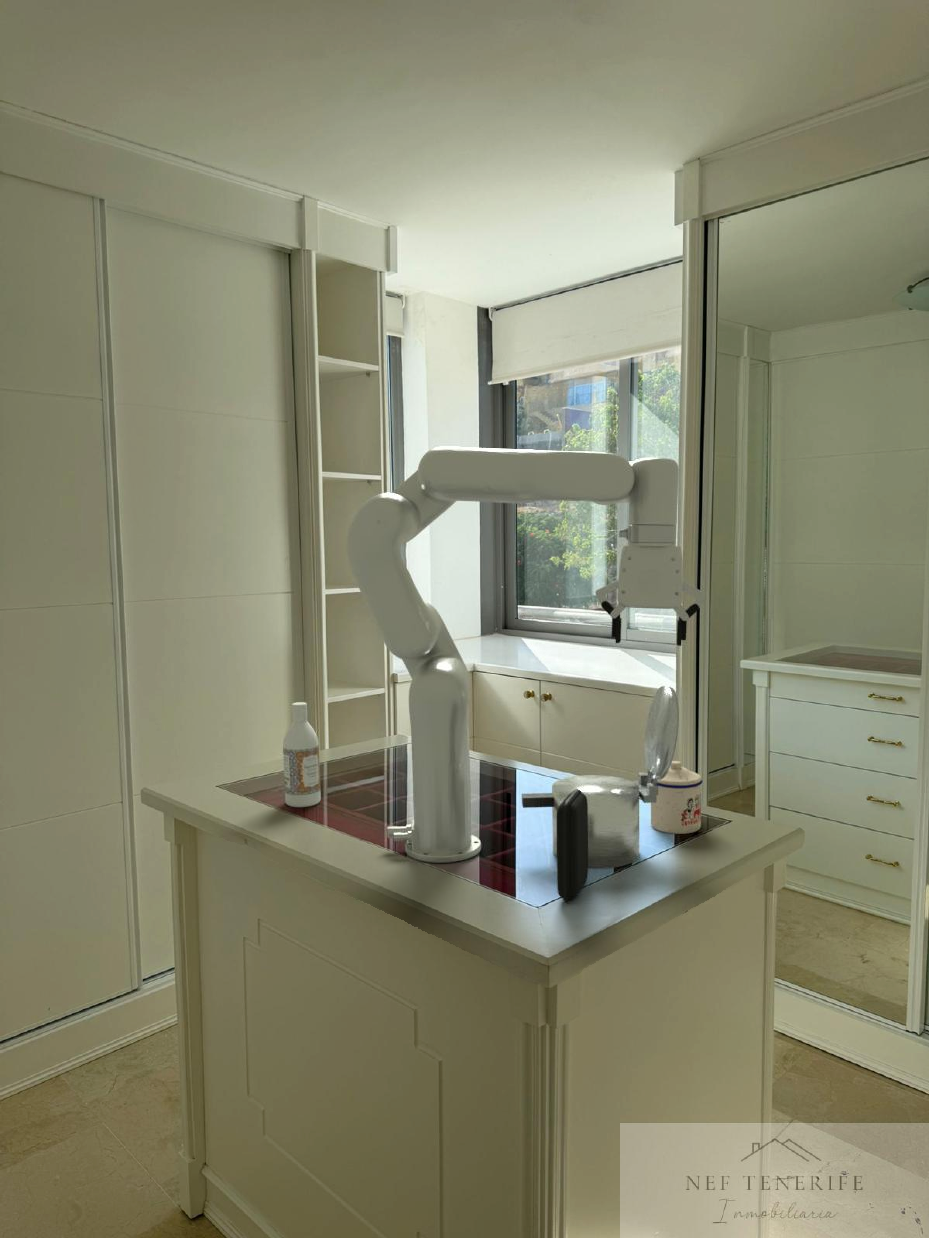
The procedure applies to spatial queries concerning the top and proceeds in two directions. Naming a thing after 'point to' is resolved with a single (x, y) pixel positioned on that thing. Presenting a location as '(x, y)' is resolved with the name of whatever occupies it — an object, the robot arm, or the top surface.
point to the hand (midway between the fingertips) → (648, 643)
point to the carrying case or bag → (572, 845)
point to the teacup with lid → (678, 801)
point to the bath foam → (301, 760)
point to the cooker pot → (603, 814)
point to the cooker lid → (661, 734)
